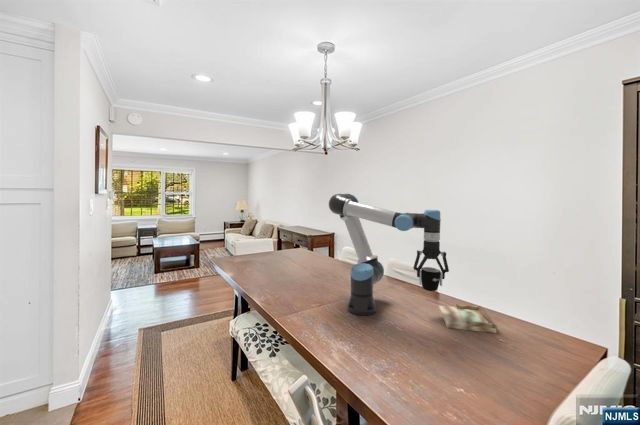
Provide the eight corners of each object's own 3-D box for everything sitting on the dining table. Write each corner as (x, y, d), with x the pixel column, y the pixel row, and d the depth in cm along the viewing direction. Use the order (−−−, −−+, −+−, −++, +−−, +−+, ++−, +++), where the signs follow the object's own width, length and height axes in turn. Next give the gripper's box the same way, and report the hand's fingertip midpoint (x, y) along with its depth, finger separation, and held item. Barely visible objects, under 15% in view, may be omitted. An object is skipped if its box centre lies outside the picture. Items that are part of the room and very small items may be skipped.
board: (447, 327, 124) (447, 320, 124) (438, 309, 145) (438, 302, 145) (496, 332, 120) (496, 325, 119) (480, 313, 140) (480, 306, 140)
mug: (431, 293, 131) (433, 272, 130) (416, 287, 139) (417, 268, 138) (446, 289, 137) (448, 269, 136) (431, 284, 145) (432, 265, 144)
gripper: (409, 240, 135) (408, 284, 137) (457, 242, 130) (455, 288, 132) (408, 238, 143) (407, 280, 144) (453, 240, 137) (452, 283, 139)
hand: (430, 284), depth 138 cm, fingers closed on mug, 9 cm apart
